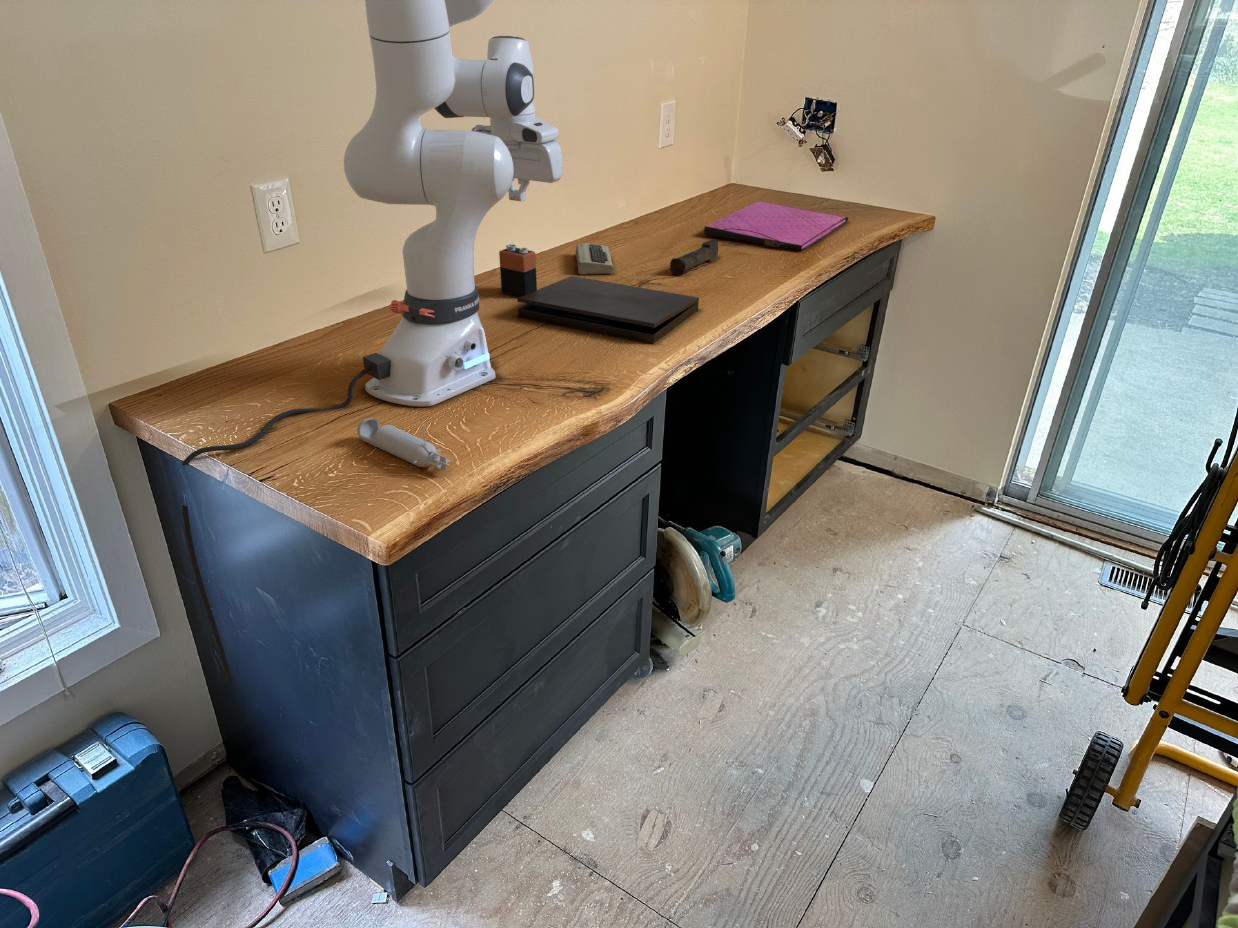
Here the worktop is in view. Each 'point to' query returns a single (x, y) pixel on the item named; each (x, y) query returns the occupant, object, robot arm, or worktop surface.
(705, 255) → the hand tool
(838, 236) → the worktop surface
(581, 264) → the computer
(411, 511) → the worktop surface
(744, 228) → the laptop bag
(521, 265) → the battery
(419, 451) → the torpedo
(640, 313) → the laptop screen
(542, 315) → the laptop
